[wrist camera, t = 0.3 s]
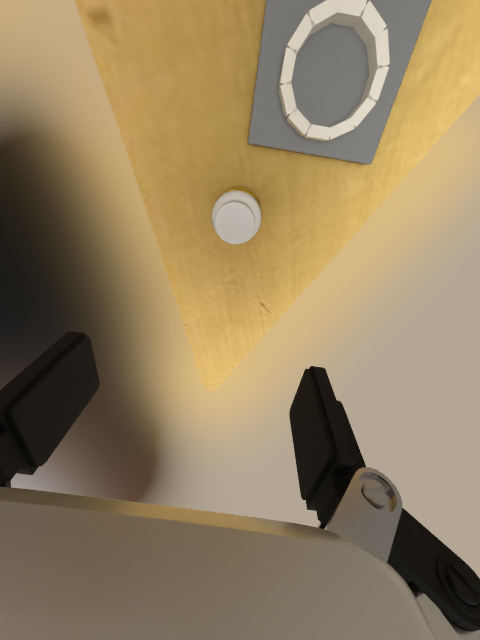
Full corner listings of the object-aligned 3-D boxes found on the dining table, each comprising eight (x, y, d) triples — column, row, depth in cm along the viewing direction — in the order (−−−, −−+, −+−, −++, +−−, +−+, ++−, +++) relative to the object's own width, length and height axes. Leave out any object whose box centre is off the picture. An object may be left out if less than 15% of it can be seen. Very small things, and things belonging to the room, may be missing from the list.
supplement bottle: (269, 207, 32) (273, 224, 24) (240, 238, 34) (236, 262, 26) (238, 174, 30) (232, 180, 22) (211, 209, 33) (195, 225, 24)
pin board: (293, -196, 18) (300, -267, 15) (480, -155, 18) (523, -216, 15) (248, 143, 29) (247, 141, 26) (366, 164, 29) (378, 164, 26)
